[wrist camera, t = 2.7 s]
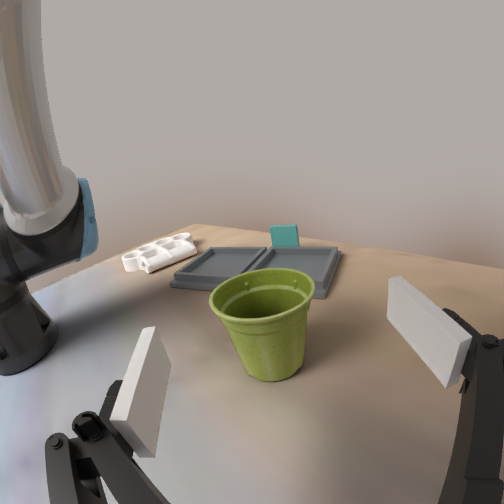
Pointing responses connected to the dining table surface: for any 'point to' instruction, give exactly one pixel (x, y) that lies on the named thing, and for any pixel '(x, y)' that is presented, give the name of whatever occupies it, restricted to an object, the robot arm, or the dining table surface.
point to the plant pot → (266, 319)
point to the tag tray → (261, 262)
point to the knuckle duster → (160, 253)
